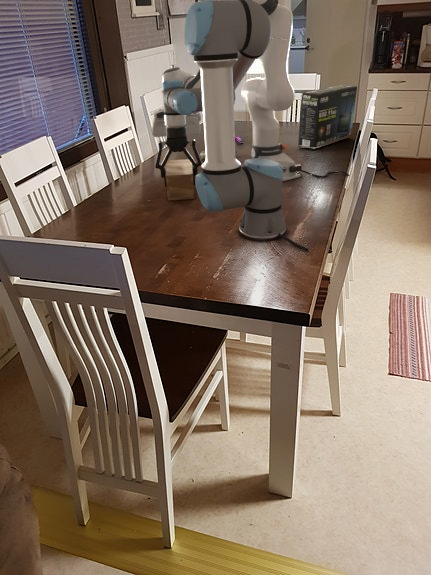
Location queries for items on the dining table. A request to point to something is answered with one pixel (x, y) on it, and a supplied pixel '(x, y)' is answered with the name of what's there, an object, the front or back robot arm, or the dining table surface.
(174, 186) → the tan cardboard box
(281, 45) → the back robot arm
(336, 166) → the dining table surface
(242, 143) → the handgun
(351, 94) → the router box
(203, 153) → the fossil
